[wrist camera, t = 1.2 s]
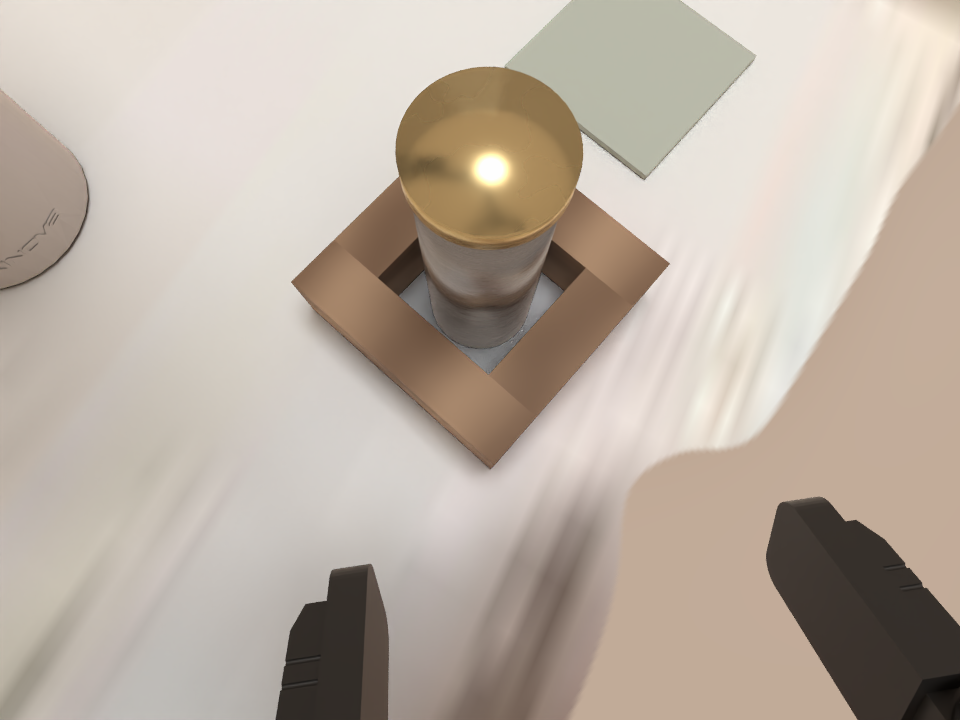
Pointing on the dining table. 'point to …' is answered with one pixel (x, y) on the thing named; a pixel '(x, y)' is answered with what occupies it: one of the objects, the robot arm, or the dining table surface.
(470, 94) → the grey upright cylinder
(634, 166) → the pad
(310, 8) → the dining table surface
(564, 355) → the housing
